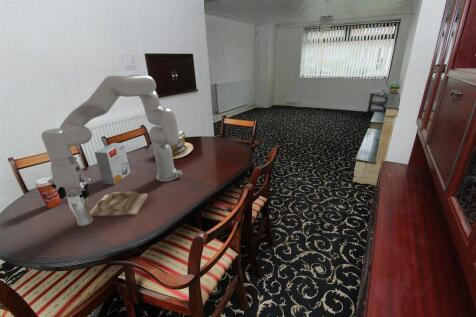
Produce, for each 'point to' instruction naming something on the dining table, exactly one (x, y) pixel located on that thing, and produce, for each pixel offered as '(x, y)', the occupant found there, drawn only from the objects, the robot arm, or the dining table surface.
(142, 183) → the dining table surface
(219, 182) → the dining table surface
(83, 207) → the beer glass
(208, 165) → the dining table surface
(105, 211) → the pocket board
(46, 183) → the paper cup
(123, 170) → the hard drive box
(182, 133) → the gold white round stack
